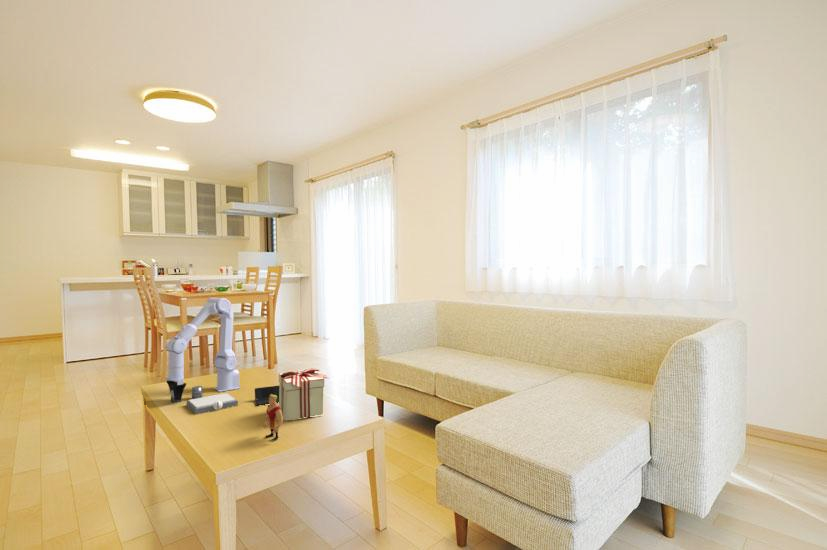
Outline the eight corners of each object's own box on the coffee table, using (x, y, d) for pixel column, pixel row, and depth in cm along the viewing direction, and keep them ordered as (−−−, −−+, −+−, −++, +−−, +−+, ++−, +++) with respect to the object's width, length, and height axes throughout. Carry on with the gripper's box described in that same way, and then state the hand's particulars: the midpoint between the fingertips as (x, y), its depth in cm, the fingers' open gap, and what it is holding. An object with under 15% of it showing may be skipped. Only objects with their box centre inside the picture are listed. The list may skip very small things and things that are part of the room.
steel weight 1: (180, 399, 177) (180, 388, 177) (182, 401, 174) (182, 390, 174) (169, 401, 175) (169, 389, 175) (171, 403, 172) (171, 391, 172)
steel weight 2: (200, 396, 182) (200, 385, 182) (203, 398, 179) (203, 387, 179) (190, 398, 179) (190, 387, 179) (193, 400, 176) (193, 388, 176)
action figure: (260, 435, 138) (260, 392, 138) (270, 432, 141) (270, 389, 141) (274, 443, 132) (274, 398, 132) (284, 440, 135) (284, 395, 135)
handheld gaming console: (258, 404, 167) (257, 381, 173) (253, 411, 172) (252, 388, 177) (285, 403, 174) (284, 381, 179) (280, 409, 178) (278, 388, 184)
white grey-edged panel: (226, 397, 180) (226, 389, 180) (238, 406, 169) (238, 397, 169) (186, 405, 169) (186, 396, 169) (196, 414, 158) (196, 405, 158)
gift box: (288, 425, 148) (288, 378, 148) (275, 411, 163) (275, 368, 163) (332, 416, 157) (332, 372, 157) (316, 403, 173) (316, 363, 173)
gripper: (161, 365, 177) (161, 396, 177) (169, 371, 166) (169, 404, 166) (180, 362, 182) (180, 393, 182) (188, 368, 171) (188, 400, 171)
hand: (176, 398), depth 175 cm, fingers open, 6 cm apart
